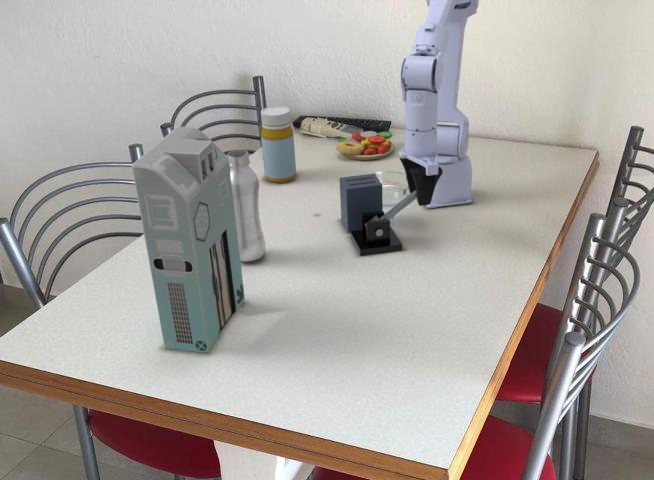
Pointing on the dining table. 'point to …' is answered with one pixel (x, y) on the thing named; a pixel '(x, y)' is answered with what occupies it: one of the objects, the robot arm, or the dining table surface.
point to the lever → (396, 208)
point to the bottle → (278, 145)
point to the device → (190, 237)
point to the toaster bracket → (375, 236)
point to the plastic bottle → (246, 206)
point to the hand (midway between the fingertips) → (420, 198)
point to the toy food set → (366, 145)
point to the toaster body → (359, 199)
